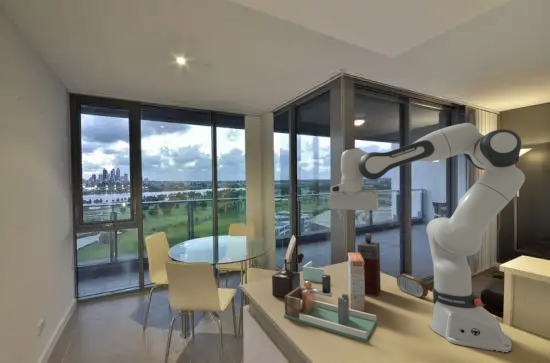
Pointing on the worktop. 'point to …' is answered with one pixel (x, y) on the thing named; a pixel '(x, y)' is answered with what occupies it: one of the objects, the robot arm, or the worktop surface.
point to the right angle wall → (312, 273)
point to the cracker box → (356, 281)
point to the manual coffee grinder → (286, 279)
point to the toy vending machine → (370, 265)
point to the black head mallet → (309, 293)
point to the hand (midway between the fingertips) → (353, 220)
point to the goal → (293, 302)
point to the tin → (412, 285)
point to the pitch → (339, 319)
